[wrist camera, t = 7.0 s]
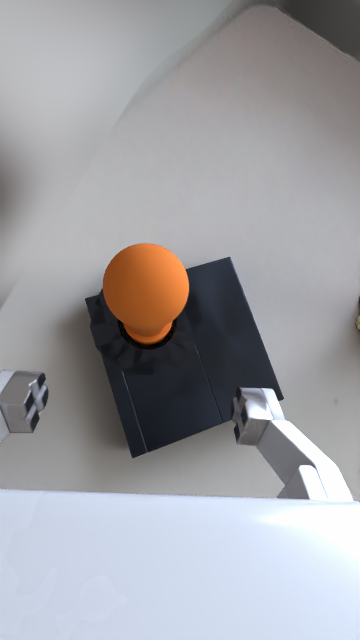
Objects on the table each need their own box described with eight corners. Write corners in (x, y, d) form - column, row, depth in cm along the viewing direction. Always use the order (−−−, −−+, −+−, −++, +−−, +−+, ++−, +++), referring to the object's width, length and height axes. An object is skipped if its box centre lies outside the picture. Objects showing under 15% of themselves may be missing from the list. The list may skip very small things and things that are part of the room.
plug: (132, 353, 22) (111, 335, 10) (119, 309, 23) (82, 240, 10) (176, 338, 23) (208, 305, 10) (162, 296, 23) (177, 216, 11)
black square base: (131, 451, 21) (129, 460, 19) (83, 291, 22) (77, 284, 21) (272, 396, 23) (284, 399, 21) (219, 252, 24) (225, 242, 22)
